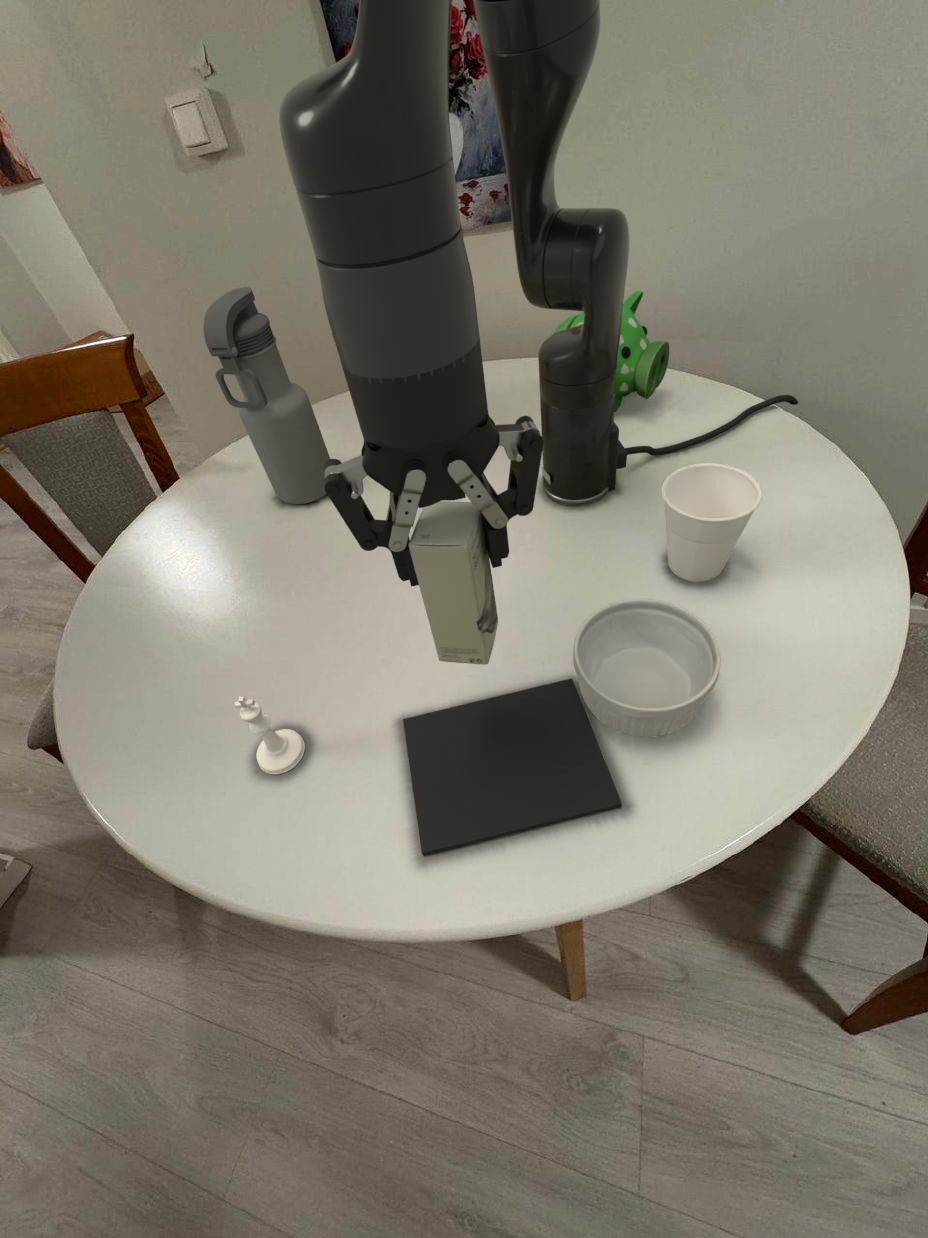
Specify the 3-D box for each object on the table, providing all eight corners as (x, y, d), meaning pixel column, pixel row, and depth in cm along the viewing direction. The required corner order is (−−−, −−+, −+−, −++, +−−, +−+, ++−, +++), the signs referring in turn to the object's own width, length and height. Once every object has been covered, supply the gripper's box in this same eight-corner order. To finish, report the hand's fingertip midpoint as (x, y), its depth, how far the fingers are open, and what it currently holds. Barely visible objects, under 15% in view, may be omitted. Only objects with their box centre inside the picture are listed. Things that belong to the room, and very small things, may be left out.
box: (489, 667, 47) (469, 549, 38) (437, 663, 48) (405, 547, 39) (499, 618, 51) (483, 498, 41) (451, 615, 52) (424, 497, 42)
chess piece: (262, 735, 62) (219, 680, 54) (307, 728, 62) (271, 672, 54) (254, 778, 59) (208, 726, 51) (302, 771, 58) (263, 718, 51)
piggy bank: (637, 431, 89) (647, 332, 78) (532, 412, 97) (527, 319, 86) (669, 387, 97) (681, 290, 86) (568, 372, 105) (568, 282, 93)
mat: (572, 682, 61) (572, 677, 60) (621, 807, 51) (622, 803, 51) (404, 723, 60) (402, 718, 60) (423, 856, 51) (421, 853, 50)
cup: (745, 546, 70) (768, 469, 62) (732, 604, 65) (755, 527, 57) (661, 531, 74) (672, 457, 66) (642, 585, 68) (652, 511, 60)
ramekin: (681, 773, 53) (693, 734, 48) (550, 716, 59) (548, 676, 53) (725, 667, 59) (740, 623, 54) (603, 625, 65) (606, 582, 60)
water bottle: (318, 511, 87) (238, 316, 66) (264, 505, 90) (172, 317, 69) (348, 471, 93) (283, 281, 72) (296, 466, 96) (220, 283, 75)
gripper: (271, 400, 28) (363, 627, 41) (561, 336, 28) (564, 581, 41) (276, 339, 33) (357, 558, 46) (522, 284, 33) (535, 517, 46)
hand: (455, 568), depth 43 cm, fingers closed on box, 5 cm apart
